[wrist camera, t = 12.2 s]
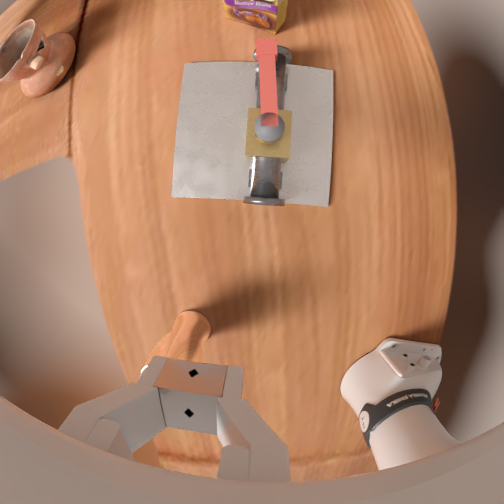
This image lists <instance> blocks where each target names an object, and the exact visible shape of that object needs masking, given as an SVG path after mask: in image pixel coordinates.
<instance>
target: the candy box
mask: <svg viewBox="0 0 504 504" xmlns="http://www.w3.org/2000/svg"><path fill="white" fill-rule="evenodd" d="M222 1H223V5H224V9H225V14H226V18H228V19H231V20H235V21H239V22H242V23H245V24H248V25H251V26H254V27H257V28H260V29H262V30H265V31H268V32H270V33H273V34H276V33H277V31H278V30H279V28H280V27H281V26H282V24H283V23H284V21H285V19H286V11H287V5H288V0H222Z"/></svg>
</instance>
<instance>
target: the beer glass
mask: <svg viewBox="0 0 504 504" xmlns="http://www.w3.org/2000/svg"><path fill="white" fill-rule="evenodd" d="M210 332H211V327H210V324H209V322H208V320H207V319H206V317H205V316H203V315H202V314H200V313H198V312H196V311H184V312H182V313H180V314H179V315H178V316H177V317H176V319H175V322H174V326H173V329H172V330H171V331H170V332H169V333H168V334H166V335H165V336H164V337H163V338H162V339H161V340H160V341H159V342H158V343H157V344H156V345H155V347H154V348H153V349H152V351H151V352H150V354H149V356H148V358H147V360H146V362H145V364H144V366H143V368H142V370H141V372H140V377H141V376H142V374H143V372H144V371H145V369H146V367H147V366H148V364H149V362H150V361H151V359H152V358H153V356H155V355H158V356H163V357H168V358H175V359H181V360H187V361H193V362H198V363H202V361H203V345H204V342H205V341H206V340H207V339H208V337H209V335H210Z"/></svg>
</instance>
